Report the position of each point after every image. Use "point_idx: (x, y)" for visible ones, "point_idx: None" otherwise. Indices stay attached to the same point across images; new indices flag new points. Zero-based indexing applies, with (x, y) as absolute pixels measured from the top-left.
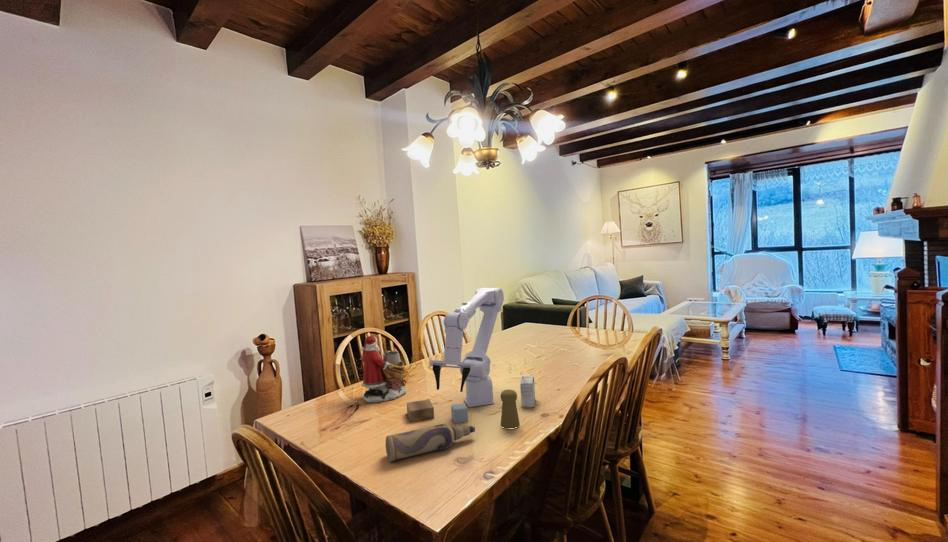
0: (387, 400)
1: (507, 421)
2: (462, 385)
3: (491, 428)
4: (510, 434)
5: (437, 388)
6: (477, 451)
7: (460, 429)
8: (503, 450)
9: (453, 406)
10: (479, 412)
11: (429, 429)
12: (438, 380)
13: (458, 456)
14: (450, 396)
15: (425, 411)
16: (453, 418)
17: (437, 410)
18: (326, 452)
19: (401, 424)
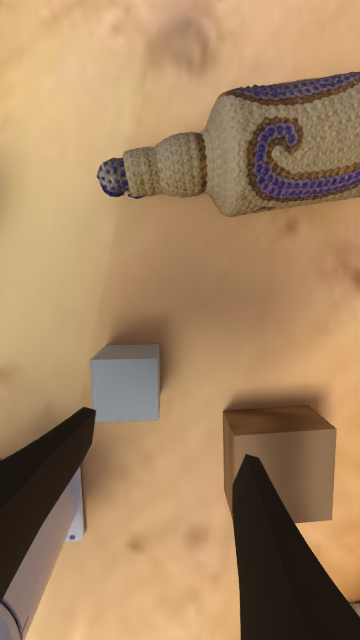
0: (356, 605)
1: None
2: (58, 431)
3: (30, 251)
4: None
5: (257, 463)
6: (123, 87)
7: (168, 139)
8: (26, 53)
9: (151, 398)
10: (47, 404)
11: (332, 99)
12: (273, 521)
13: (196, 79)
14: (129, 580)
15: (265, 427)
16: (159, 363)
17: (199, 472)
18: None
19: (339, 399)
